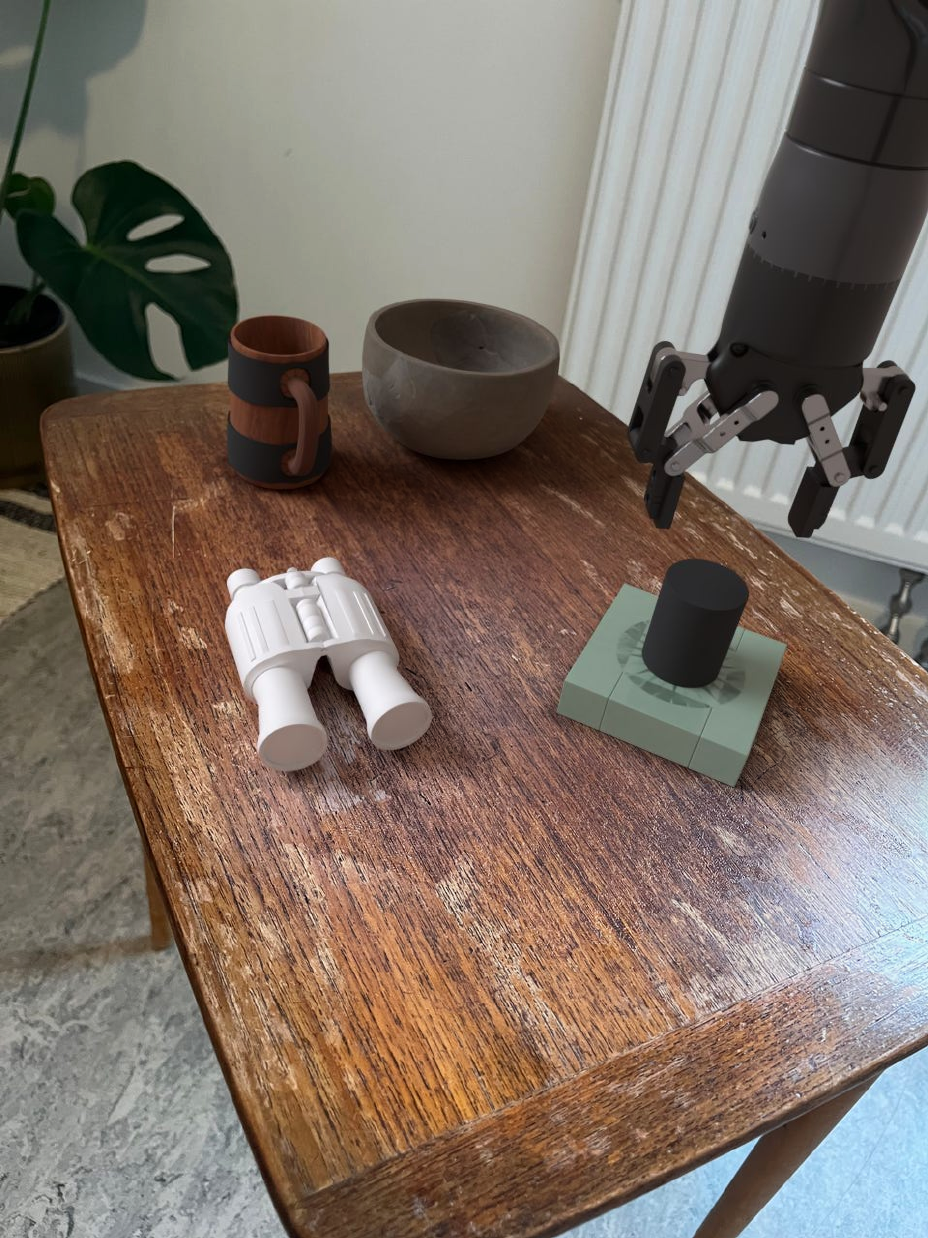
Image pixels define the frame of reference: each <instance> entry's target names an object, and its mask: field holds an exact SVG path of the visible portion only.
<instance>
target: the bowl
mask: <svg viewBox="0 0 928 1238" xmlns="http://www.w3.org/2000/svg"><path fill="white" fill-rule="evenodd" d="M560 352H561V349H560V343H559V340H558V338H557V337H556V335H555V334H553V332H552V331H550V330H549V328H547V327H545V326H544V325H543V324H540V323H539V322H537V321H536V320H535V319H532V318H530V317H528V316H526V315H524V314H522V313H519V312H516V311H512V310H509V309H507V308H502V307H500V306H497V305H496V306H495V305H493V304H486V303H481V302H476V301H470V300H464V299H463V300H462V299H453V298H452V299H451V298H414V299H407V300H402V301H397V302H393V303H390V304H387V305H384V306H381V307H380V308H378V309H377V310H375V311H373V313H371V315H370V316H369V318H368V322H367V324H366V327H365V332H364V338H363V345H362V353H361V375H362V387H363V394H364V399H365V402H366V404H367V406H368V408H369V411H370V412H371V414H372V416H373V418H374V420H375V421H376V423H377V424H378V425H379V426H380V427H381V428H382V429H383V431H385V432H386V433H387V434H388V435H389V436H390V437H392V438H393V439H395V441H397V442H398V443H400V444H401V445H403V446H404V447H406V448H408V449H409V450H411V451H414V452H416V453H418V454H422V455H424V456H428V457H432V458H436V459H443V460H455V461H456V460H457V461H463V460H480V459H486V458H491V457H495V456H498V455H502V454H504V453H506V452H509V451H511V450H513V449H514V448H516V447H517V446H518V445H520V444H521V443H522V442H523V441H524V440H525V439H526V438H528V437H529V436H530V435H531V433H532V432H533V431H534V430H535V429H536V428H537V427H538V426H539V423H540V422H541V420H542V419H543V417H544V416H545V414H546V412H547V410H548V408H549V406H550V403H551V401H552V398H553V395H554V392H555V389H556V385H557V381H558V376H559V372H560V363H561V354H560Z"/></svg>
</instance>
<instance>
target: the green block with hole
mask: <svg viewBox="0 0 928 1238" xmlns="http://www.w3.org/2000/svg"><path fill="white" fill-rule="evenodd" d="M658 596H659V595H657V594H654V593H652V592H649V591H646V590H643V589H641V588H638V587H635V586H633V585H631V584H628V583H623V585H622V586H621V588H620V590H619V591H618V593H617V595H616V596H615V597H614V599H613V601H612V602H611V604H610V605H609V607H608V609H607V610H606V613H605V614H604V615H603V617H602V619H601V621H600V622H599V623H598V625H597V627H596V628H595V630H594V631H593V633H592V635H591V637H590V638H589V640H588V641H587V643H586V645H585V646H584V648H583V649H582V651H581V653H580V654H579V655H578V657H577V659H576V660H575V662H574V664H573V665H572V667H571V669H570V670H569V672H568V674H567V675H566V677H565V678H564V680H563V683H562V688H561V692H560V696H559V700H558V704H557V708H556V714H558V715H561V716H563V717H566V718H568V719H569V720H572V721H575V722H577V723H579V724H582V725H584V726H587V727H590V728H591V729H594V730H596V731H600V732H601V733H604V734H606V735H608V736H611V737H613V738H615V739H618V740H621V742H625V743H628V744H630V745H631V746H635V747H636V748H639V749H642V750H644V751H646V752H648V753H651V754H653V755H656V756H658V757H661V758H663V759H665V760H668V761H670V762H672V763H675V764H677V765H680V766H682V767H684V768H687V769H690V770H691V771H694V772H696V773H698V774H701V775H703V776H706V777H707V778H711V779H712V780H715V781H718V782H720V783H722V784H725V785H727V786H729V787H731V788H735V787H736V785H737V782H738V780H739V778H740V776H741V775H742V774H741V773H742V772H743V770H744V767H745V765H746V762H747V761H748V758H749V756H750V754H751V750H752V749H753V745H754V742H755V739H756V737H757V734H758V731H759V728H760V724H761V723H762V719H763V717H764V713H765V710H766V707H767V705H768V701H769V699H770V696H771V693H772V690H773V688H774V685H775V682H776V679H777V676H778V673H779V671H780V668H781V664H782V662H783V659H784V656H785V653H786V651H787V648H788V644H787V643H784V642H781V641H779V640H776V639H774V638H770V637H768V636H766V635H762V634H761V633H757V632H755V631H752V630H750V629H747V628H745V627H743V626H739V625H738V626H737V629H736V631H735V634H734V636H733V639H732V642H731V644H730V647H729V649H728V652H727V654H726V657H725V659H724V662H723V665H722V667H721V670H720V672H719V675H718V677H717V678H716V679H715V680H714V681H713V682H712V683H710V684H708V685H706V686H703V687H697V688H686V687H680V686H676V685H673V684H670V683H667V682H665V681H663V680H661V679H660V678H658V677H657V676H655V675H654V674H653V673H652V672H651V671H650V670H649V669H648V668H647V667H646V665H645V663H644V661H643V659H642V647H643V644H644V641H645V638H646V635H647V631H648V628H649V625H650V622H651V619H652V616H653V612H654V609H655V606H656V603H657V600H658Z"/></svg>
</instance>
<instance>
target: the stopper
mask: <svg viewBox="0 0 928 1238" xmlns="http://www.w3.org/2000/svg"><path fill="white" fill-rule="evenodd" d="M657 596H658V600H657V603H656V606H655V609H654V612H653V616H652V619H651V622H650V625H649V628H648V631H647V635H646V638H645V641H644V644H643V647H642V659H643V661H644V663H645V665H646V667H647V668H648V669H649V670H650V671H651V672H652V673H653V674H654V675H655V676H657V677H658V678H660V679H661V680H663V681H665V682H667V683H670V684H673V685H676V686H680V687H686V688H697V687H703V686H706V685H708V684H710V683H712V682H713V681H714V680H715V679H716V678H717V677H718V675H719V672H720V670H721V667H722V665H723V662H724V659H725V657H726V654H727V652H728V649H729V647H730V644H731V642H732V639H733V636H734V634H735V631H736V629H737V626H739V624H740V621H741V619H742V616H743V614H744V611H745V608H746V606H747V603H748V600H749V597H750V590H749V586H748V585H747V583H746V581H745V580H744V579H743V578H742V577H741V575H739V574H738V573H737V572H736V571H735V570H733V569H731V568H730V567H728V566H726V565H724V564H721V563H718V562H716V561H713V560H709V559H703V558H685V559H680V560H678V561H675V562H673V563H672V564H671V565H670V566H669V567H668V568H667V569H666V571H665V574H664V578H663V580H662V585H661V587H660V590H659V593H658V595H657Z"/></svg>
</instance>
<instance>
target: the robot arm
mask: <svg viewBox="0 0 928 1238" xmlns="http://www.w3.org/2000/svg"><path fill="white" fill-rule="evenodd" d="M817 6H818V7H817V13H816V20H815V23H814V29H813V33H812V37H811V40H810V45H809V48H808V51H807V55H806V59H805V62H804V66H803V69H802V72H801V75H800V79H799V81H798V85H797V89H796V92H795V95H794V98H793V103H792V104H791V108H790V111H789V115H788V118H787V121H786V125H785V128H784V129H785V131H784V132H783V134H782V137H781V140H780V144H779V146H778V148H777V151H776V153H775V156H774V157H773V159H772V162H771V164H770V167H769V169H768V171H767V173H766V176H765V178H764V181H763V184H762V187H761V189H760V192H759V196H758V200H757V203H756V206H755V207H754V209H753V211H752V212H751V215H750V219H749V223H748V234H747V237H746V239H745V244H744V247H743V251H742V254H741V257H740V260H739V263H738V267H737V271H736V274H735V276H734V281H733V284H732V286H731V287H732V288H731V290H730V294H729V298H728V300H727V304H726V307H725V312H724V315H723V319H722V323H721V327H720V333H719V336H718V337H717V340H716V342H715V343H714V345H713V346H712V347H711V348H710V349H709V351H708V352H707V353H706V354H700V353H693V352H689V351H688V352H686V351H680V350H677V349H676V348H675V345H674V344H673V343H672V341H669V340H662V341H658V342H657V343H656V344H655V345H654V347H653V348H652V350H651V353H650V356H649V360H648V363H647V366H646V368H645V369H646V370H645V373H644V375H643V379H642V381H641V385H640V389H639V391H638V395H637V398H636V401H635V404H634V407H633V410H632V413H631V416H630V419H629V422H628V426H627V429H626V437H627V439H628V442H629V444H630V447H631V450H632V452H633V455H634V457H635V459H636V461H637V462H638V463H640V464H651V465H652V466H651V469H650V473H649V477H648V480H647V484H646V487H645V490H644V494H643V503H644V507H645V510H646V512H647V515H648V518H649V520H652V522H653V524H654V527H655V529H657V530H670V529H671V528H672V524H673V520H674V517H675V514H676V510H677V508H678V504H679V500H680V497H681V494H682V492H683V491H682V490H683V488H684V484H685V480H686V475H685V473H684V472H685V471H686V470H688V469H689V468H690V467H691V466H692V465H694V464H695V463H697V462H698V461H699V460H700V459H701V458H702V457H704V456H705V455H708V454H714V453H716V452H718V451H719V450H721V449H722V448H723V447H724V446H725V445H726V444H728V443H729V442H730V441H731V440H732V439H734V438H735V437H736V438H737V439H738V441H739V442H746V443H747V442H748V443H749V442H750V443H757V442H762V441H771V442H774V443H777V444H780V445H789V446H795V444H796V442H797V441H800V440H803V439H805V441H806V443H807V446H808V449H809V450H810V454H811V455H812V459H813V461H814V462H815V463H814V465H813V466H806V467H805V470H804V473H803V475H802V478H801V481H800V483H799V485H798V488H797V490H796V494H795V495H794V498H793V501H792V503H791V505H790V509H789V511H788V514H787V524H788V526H789V527H790V529H791V531H792V532H793V534H794V536H795V537H796V538H802V539H810V538H811V537H812V536H813V534H814V531H815V530H820V529H821V527H823V525H824V524H825V523H826V522H827V521H826V520H827V518H828V516H829V514H830V511H831V509H832V507H833V504H834V502H835V499H836V498H837V495H838V493H839V491H840V488H841V486H844V485H845V484H847V483H848V482H849V480H851V479H854V478H859V477H864V478H865V479H867V480H875V479H877V478H879V477H881V476H882V475H883V474H884V472H885V470H886V467H887V465H888V462H889V460H890V457H891V455H892V453H893V449H894V447H895V444H896V442H897V439H898V436H899V434H900V431H901V428H902V426H903V424H904V421H905V419H906V415H907V413H908V410H909V408H910V405H911V402H912V399H913V398H914V395H915V392H916V389H917V388H916V384H915V382H914V381H913V380H912V379H911V377H910V376H909V375H908V373H906V371H904V369H902V367H900V366H899V365H898V364H897V363H896V362H895V361H894V360H891V359H887V360H884V361H881V362H880V363H879V364H877V366H876V367H864V362H865V361H866V360H867V359H868V358H869V356H870V355H871V354H872V353H873V350H874V347H875V345H876V342H877V341H878V338H879V336H880V333H881V330H882V328H883V325H884V323H885V320H886V318H887V315H888V313H889V311H890V308H891V306H892V303H893V301H894V298H895V297H896V294H897V291H898V289H899V286H900V284H901V282H902V279H903V276H904V274H905V272H906V270H907V267H908V264H909V261H910V259H911V257H912V254H913V251H914V249H915V247H916V244H917V241H918V240H919V237H920V236H921V235H920V234H921V232H922V229H923V227H924V224H925V221H926V218H927V216H928V0H819V1H818V5H817ZM700 380H703V382H704V384H705V387H706V389H707V390H706V391H705V392H703V393H702V394H701V395H700V396H699V397H698V398H697V399H695V400H694V401H693V402H692V403H690V404H689V405H688V406H687V407H686V409H685V410H684V411H683V414H682V417H680V419H679V420H678V421H677V422H676V423H674V424H673V425H672V426H671V427H670V428H669V429H668V430H667V428H668V425H669V422H670V420H671V417H672V414H673V411H674V408H675V405H676V402H677V399H678V397H684V396H686V395H687V394H688V392H689V391H690V389H691V387H692V386H693V384H694V383H695V382H697V381H700ZM858 395H859V399H860V401H861V403H862V406H861V409H860V412H859V414H858V417H857V419H856V423H855V426H854V429H853V431H852V435H851V437H850V440H849V443H848V445H847V446H844V447H843V446H842V443H841V440H840V437H839V435H838V431H837V430H836V426H835V424H834V421H833V418H832V417H834V416H835V415H836V414H837V413H838V412H840V411H841V410H842V409H843V408H845V407H846V406H847V405H848V404H849V403H851V402H852V401H853V400H855V399H856V398H857V396H858ZM716 414H718V416H719V417H718V418H717V419H716V420H715V421H714V422H712V423H710V422H711V420H712V418H713V417H715V415H716Z"/></svg>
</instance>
